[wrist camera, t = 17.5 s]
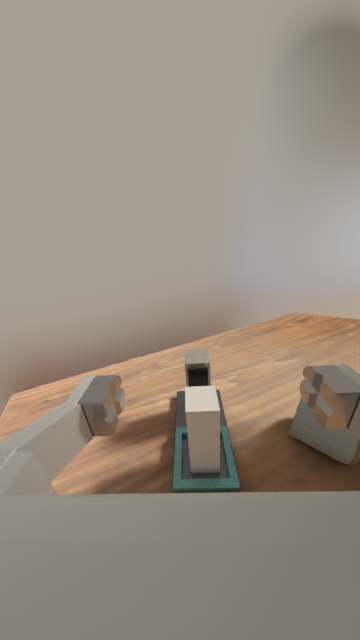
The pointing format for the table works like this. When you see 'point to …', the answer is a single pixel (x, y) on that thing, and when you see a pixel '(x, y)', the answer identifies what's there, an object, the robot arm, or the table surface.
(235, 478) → the tray with white post
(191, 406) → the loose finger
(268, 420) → the table surface
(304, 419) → the ceramic mug
